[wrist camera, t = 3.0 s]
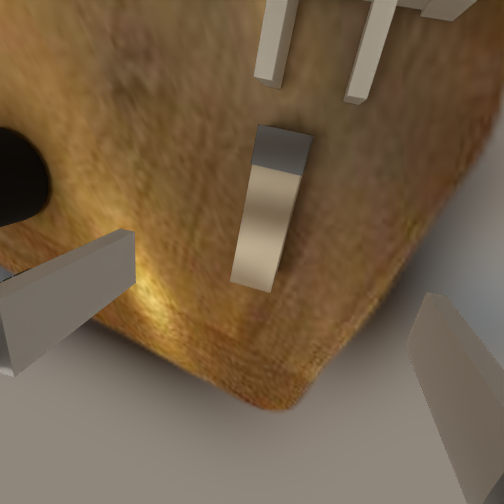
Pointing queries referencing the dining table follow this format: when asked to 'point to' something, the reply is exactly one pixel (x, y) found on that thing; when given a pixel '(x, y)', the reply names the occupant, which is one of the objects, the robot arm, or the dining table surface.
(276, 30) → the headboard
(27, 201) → the coffee jar
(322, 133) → the dining table surface
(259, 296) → the dining table surface
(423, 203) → the dining table surface
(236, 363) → the dining table surface
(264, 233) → the beige wooden block
